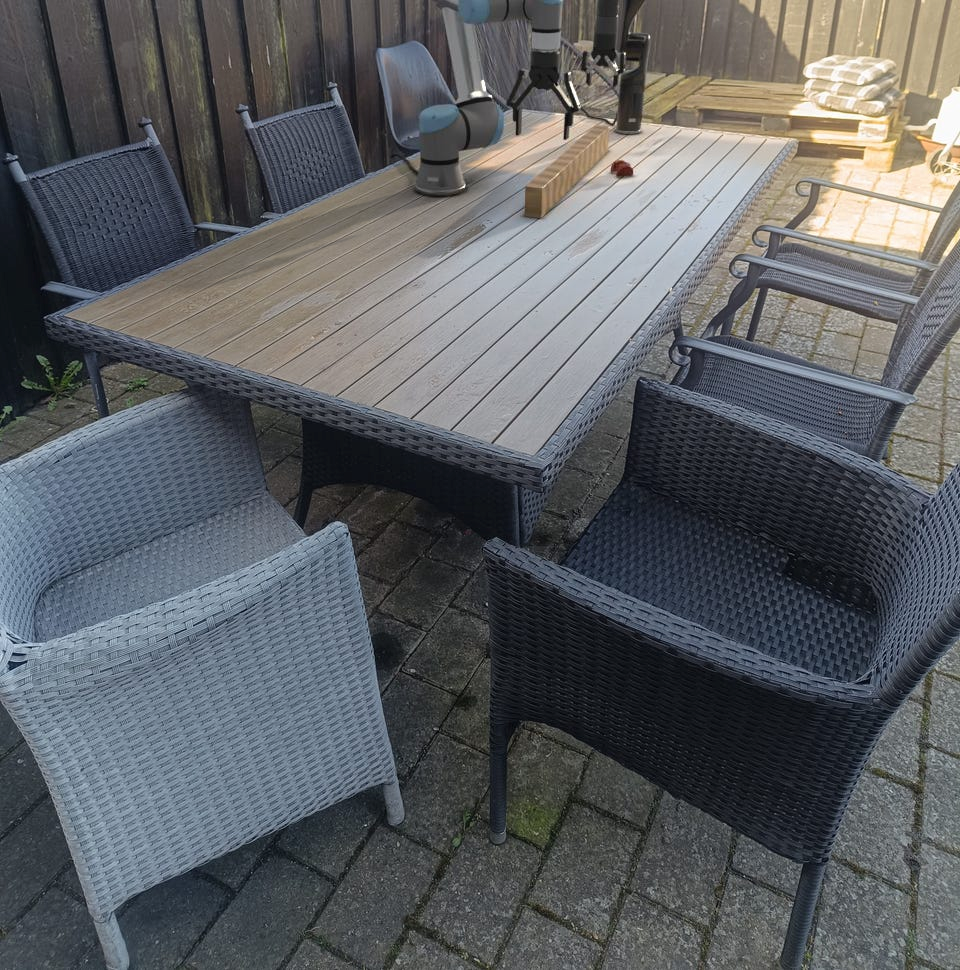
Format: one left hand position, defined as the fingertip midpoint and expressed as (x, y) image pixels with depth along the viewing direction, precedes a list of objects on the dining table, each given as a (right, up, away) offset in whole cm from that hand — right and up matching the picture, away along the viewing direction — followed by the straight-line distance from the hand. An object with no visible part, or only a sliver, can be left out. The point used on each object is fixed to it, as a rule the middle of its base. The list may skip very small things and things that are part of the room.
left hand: (542, 136), depth 230 cm
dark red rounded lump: (+29, +5, +42) cm, 52 cm away
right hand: (+23, +37, +49) cm, 66 cm away
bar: (+12, +2, +37) cm, 39 cm away
